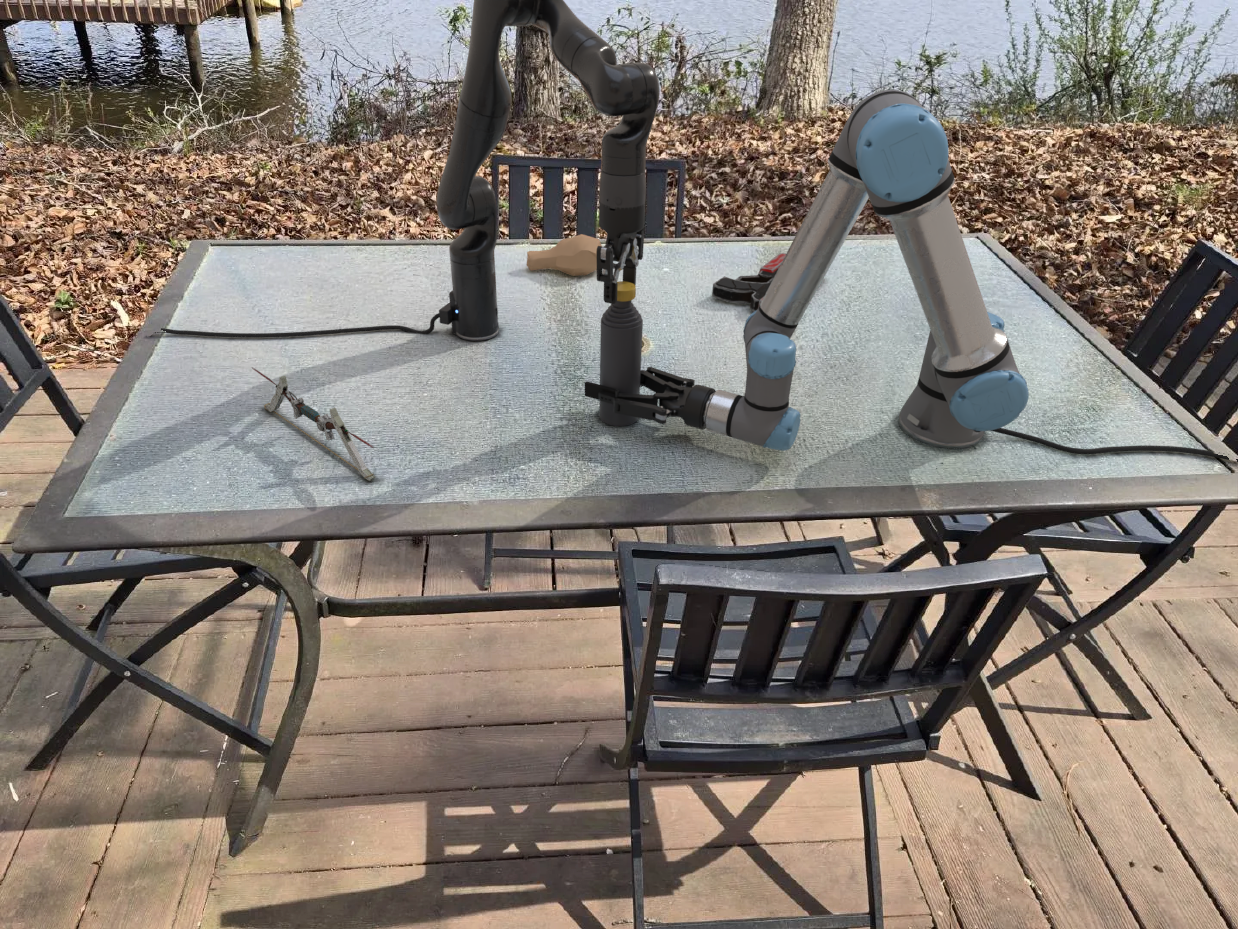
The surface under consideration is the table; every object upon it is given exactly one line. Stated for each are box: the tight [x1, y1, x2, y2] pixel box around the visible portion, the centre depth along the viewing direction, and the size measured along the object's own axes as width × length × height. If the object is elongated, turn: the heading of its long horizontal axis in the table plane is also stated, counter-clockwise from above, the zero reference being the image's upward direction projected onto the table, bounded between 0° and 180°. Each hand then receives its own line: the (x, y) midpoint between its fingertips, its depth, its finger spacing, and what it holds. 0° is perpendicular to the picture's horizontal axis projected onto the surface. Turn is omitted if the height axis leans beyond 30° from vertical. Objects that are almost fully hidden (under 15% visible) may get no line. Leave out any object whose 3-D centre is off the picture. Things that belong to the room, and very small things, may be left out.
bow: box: [250, 366, 376, 482], centre depth 151 cm, size 39×2×10 cm, turn 47°
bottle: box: [598, 300, 644, 427], centre depth 157 cm, size 7×7×25 cm
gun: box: [711, 252, 787, 313], centre depth 215 cm, size 4×31×19 cm
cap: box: [617, 280, 637, 301], centre depth 150 cm, size 4×4×2 cm
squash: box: [526, 233, 603, 277], centre depth 222 cm, size 11×20×9 cm, turn 90°
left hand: (619, 294), depth 150 cm, fingers open, 7 cm apart
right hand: (596, 379), depth 162 cm, fingers closed on bottle, 7 cm apart
